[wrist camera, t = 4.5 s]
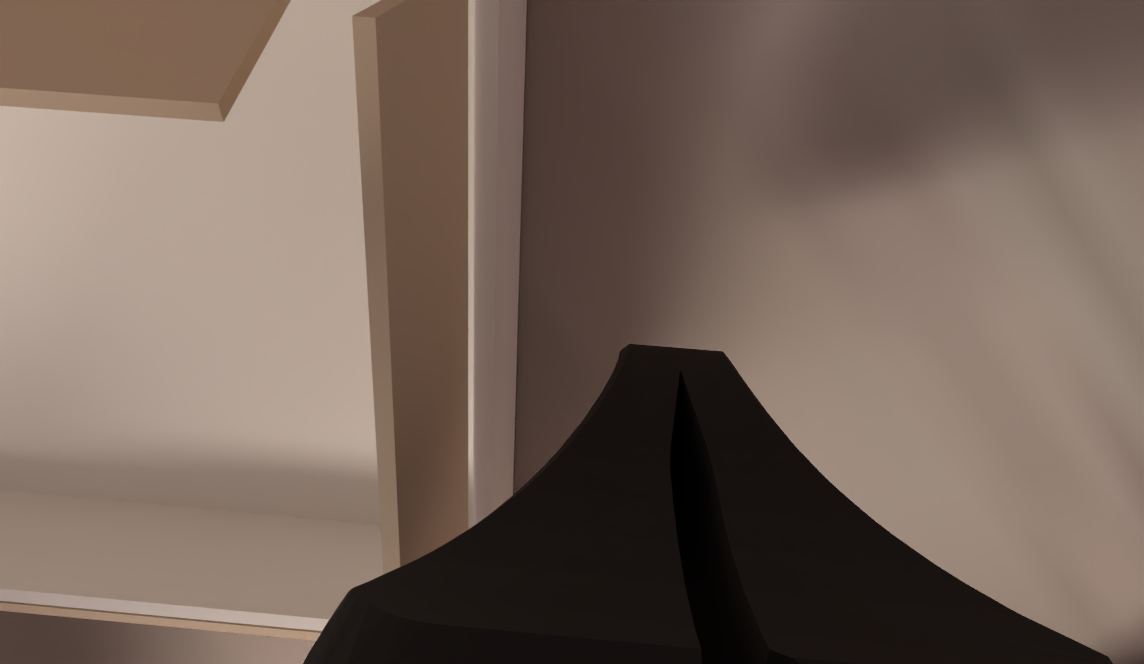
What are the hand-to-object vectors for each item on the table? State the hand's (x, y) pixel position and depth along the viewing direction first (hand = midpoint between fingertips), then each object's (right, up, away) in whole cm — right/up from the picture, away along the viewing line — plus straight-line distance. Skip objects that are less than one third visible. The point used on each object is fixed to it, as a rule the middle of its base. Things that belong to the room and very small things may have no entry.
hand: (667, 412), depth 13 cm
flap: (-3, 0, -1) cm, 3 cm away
